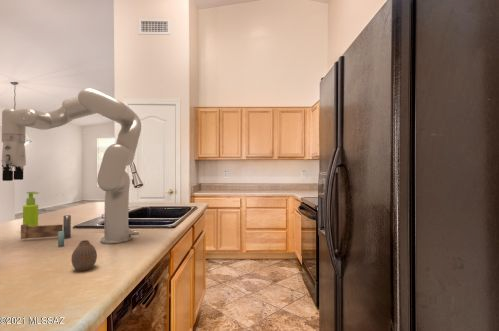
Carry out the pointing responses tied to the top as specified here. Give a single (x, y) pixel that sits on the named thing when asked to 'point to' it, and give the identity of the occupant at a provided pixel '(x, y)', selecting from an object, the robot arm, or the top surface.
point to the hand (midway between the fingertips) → (13, 180)
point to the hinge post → (67, 226)
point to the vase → (84, 256)
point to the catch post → (60, 238)
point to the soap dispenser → (30, 211)
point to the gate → (40, 231)
